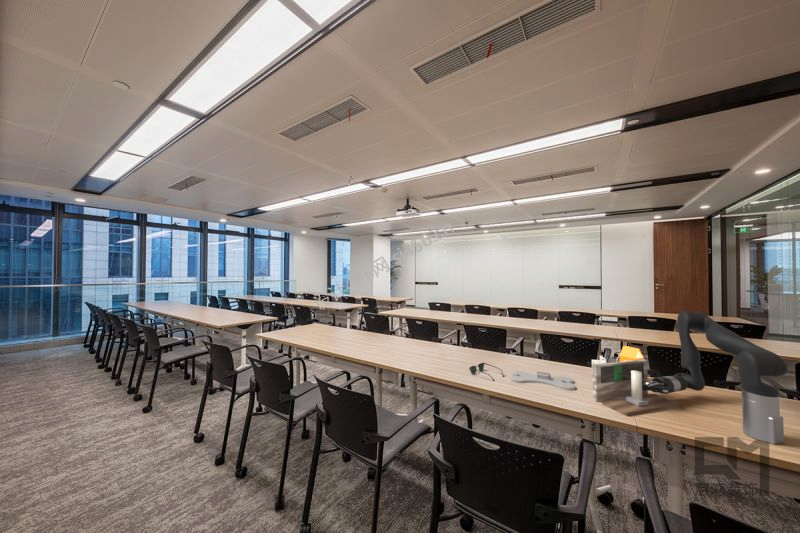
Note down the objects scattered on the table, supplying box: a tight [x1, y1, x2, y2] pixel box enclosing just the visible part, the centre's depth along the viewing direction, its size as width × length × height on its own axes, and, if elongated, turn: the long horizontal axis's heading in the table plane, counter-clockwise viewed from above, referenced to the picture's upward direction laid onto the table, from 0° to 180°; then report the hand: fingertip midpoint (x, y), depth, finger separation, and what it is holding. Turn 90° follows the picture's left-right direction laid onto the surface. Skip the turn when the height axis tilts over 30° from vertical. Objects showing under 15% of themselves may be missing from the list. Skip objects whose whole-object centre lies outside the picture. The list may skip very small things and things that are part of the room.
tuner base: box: [591, 358, 683, 417], centre depth 142 cm, size 17×34×18 cm, turn 104°
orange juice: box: [619, 345, 645, 362], centre depth 172 cm, size 8×9×20 cm
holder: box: [510, 369, 577, 391], centre depth 172 cm, size 19×34×5 cm, turn 64°
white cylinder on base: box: [620, 370, 648, 406], centre depth 141 cm, size 11×6×15 cm, turn 14°
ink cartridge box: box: [591, 355, 607, 380], centre depth 171 cm, size 9×5×15 cm, turn 168°
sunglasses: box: [468, 362, 505, 382], centre depth 182 cm, size 16×17×5 cm
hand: (639, 388), depth 139 cm, fingers closed
